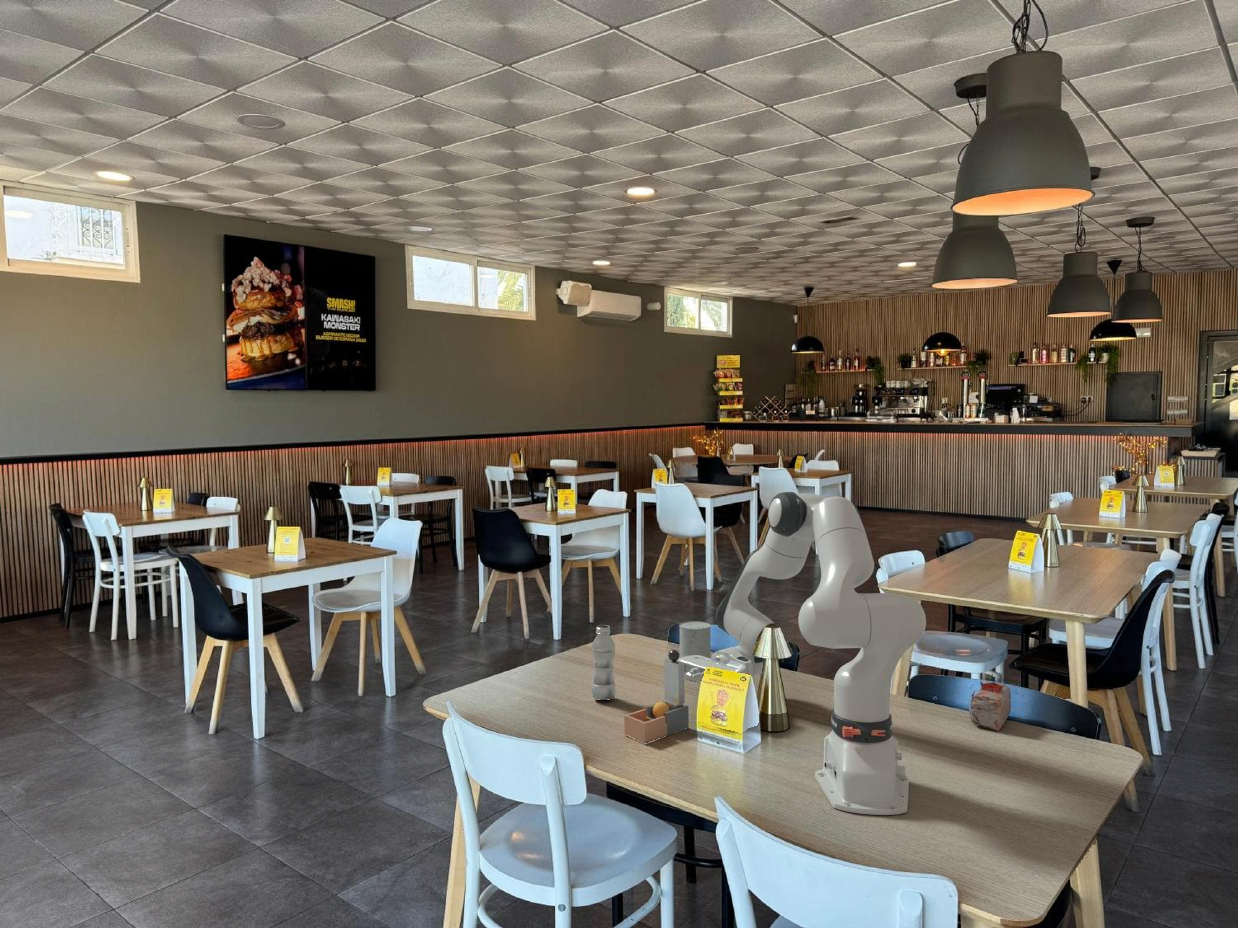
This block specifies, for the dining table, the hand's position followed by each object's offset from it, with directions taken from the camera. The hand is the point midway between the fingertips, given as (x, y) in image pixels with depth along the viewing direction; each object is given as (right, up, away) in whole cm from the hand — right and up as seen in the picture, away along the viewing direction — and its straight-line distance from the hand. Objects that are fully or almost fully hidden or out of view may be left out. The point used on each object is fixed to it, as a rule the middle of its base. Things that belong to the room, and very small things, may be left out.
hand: (689, 677), depth 206 cm
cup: (-11, -12, -9) cm, 18 cm away
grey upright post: (-4, -8, -3) cm, 10 cm away
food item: (+74, -10, -3) cm, 75 cm away
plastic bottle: (-22, -11, +17) cm, 29 cm away
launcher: (-6, -11, -4) cm, 13 cm away
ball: (-7, -6, -6) cm, 11 cm away
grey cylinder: (+6, -9, +48) cm, 49 cm away
